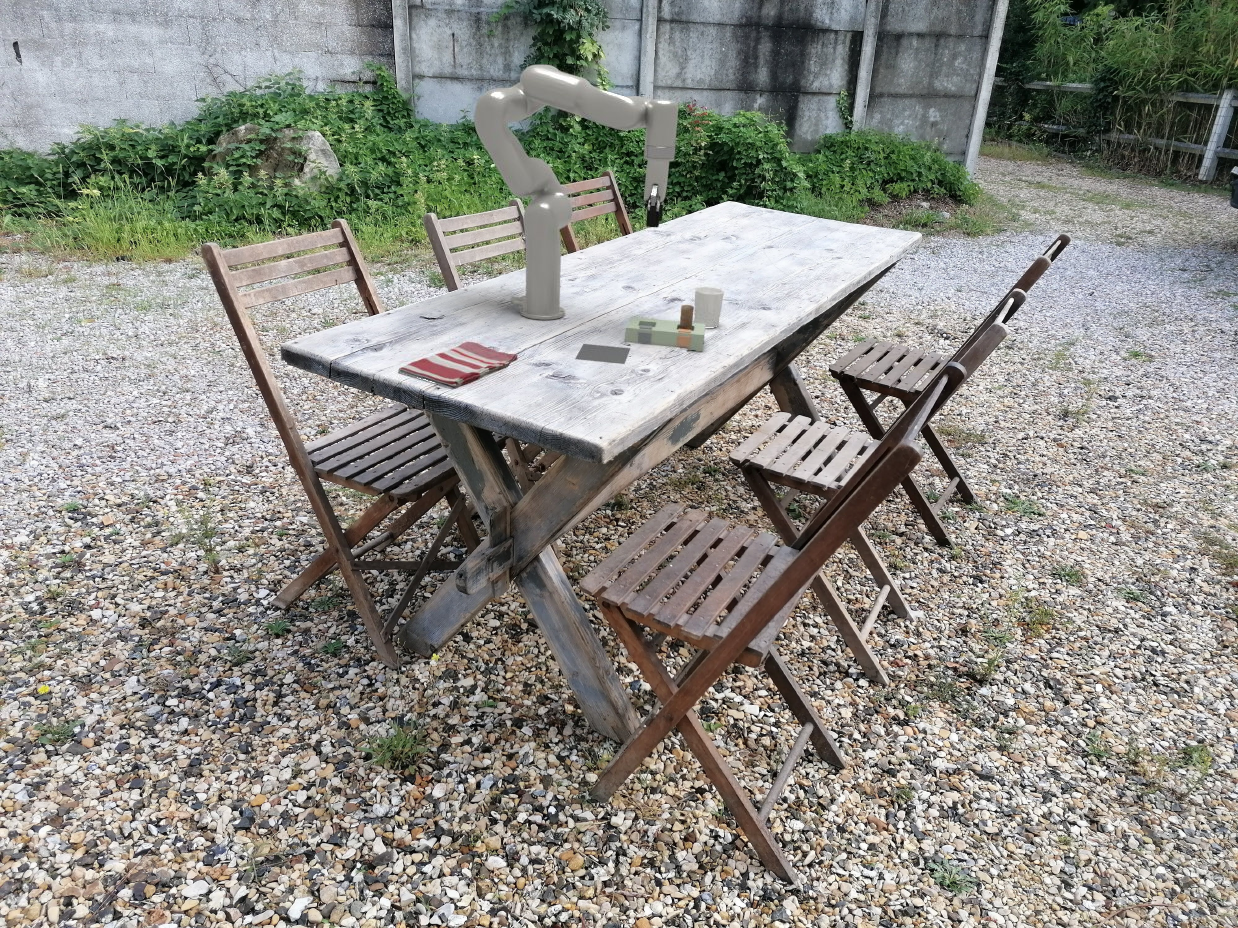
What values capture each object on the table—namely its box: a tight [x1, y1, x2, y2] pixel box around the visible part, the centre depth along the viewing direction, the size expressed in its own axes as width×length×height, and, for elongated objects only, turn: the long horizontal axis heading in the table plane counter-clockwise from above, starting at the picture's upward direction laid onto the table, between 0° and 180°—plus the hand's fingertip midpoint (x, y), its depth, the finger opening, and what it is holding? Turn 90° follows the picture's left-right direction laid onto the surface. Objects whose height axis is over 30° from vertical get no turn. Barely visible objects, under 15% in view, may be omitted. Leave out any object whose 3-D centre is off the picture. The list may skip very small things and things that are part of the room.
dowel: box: [679, 304, 695, 331], centre depth 216 cm, size 3×3×10 cm
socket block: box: [624, 316, 706, 352], centre depth 218 cm, size 20×10×5 cm, turn 82°
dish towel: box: [397, 341, 518, 390], centre depth 193 cm, size 17×23×3 cm
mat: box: [574, 343, 631, 365], centre depth 206 cm, size 12×12×1 cm
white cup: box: [693, 286, 725, 327], centre depth 233 cm, size 8×8×10 cm
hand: (654, 223), depth 216 cm, fingers open, 9 cm apart
